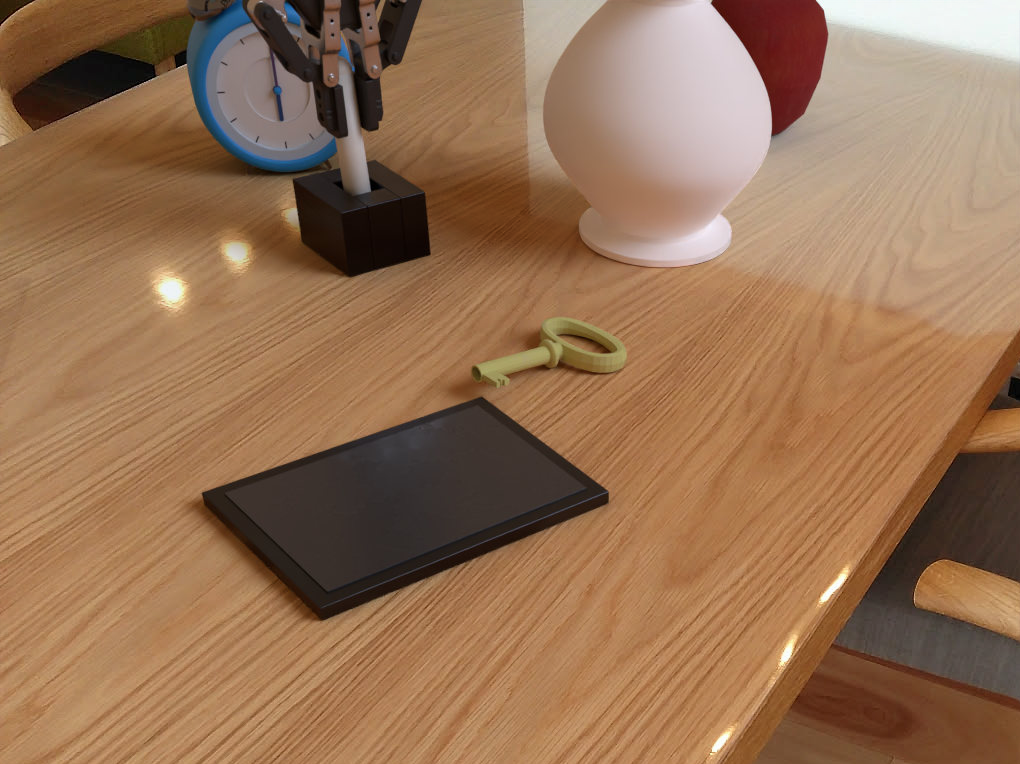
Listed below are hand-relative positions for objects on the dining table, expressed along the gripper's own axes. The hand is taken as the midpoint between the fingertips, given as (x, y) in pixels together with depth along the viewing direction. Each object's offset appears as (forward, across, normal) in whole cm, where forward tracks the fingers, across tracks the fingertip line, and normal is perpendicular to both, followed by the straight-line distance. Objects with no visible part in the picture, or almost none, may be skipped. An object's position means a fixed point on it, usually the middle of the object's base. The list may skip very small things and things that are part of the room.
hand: (352, 130), depth 107 cm
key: (+9, -1, +23) cm, 25 cm away
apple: (+9, -44, -3) cm, 45 cm away
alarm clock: (+9, -3, -18) cm, 20 cm away
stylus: (+9, 0, 0) cm, 9 cm away
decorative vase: (+9, -21, +10) cm, 25 cm away
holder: (+9, 0, 0) cm, 9 cm away
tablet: (+9, +16, +32) cm, 37 cm away
